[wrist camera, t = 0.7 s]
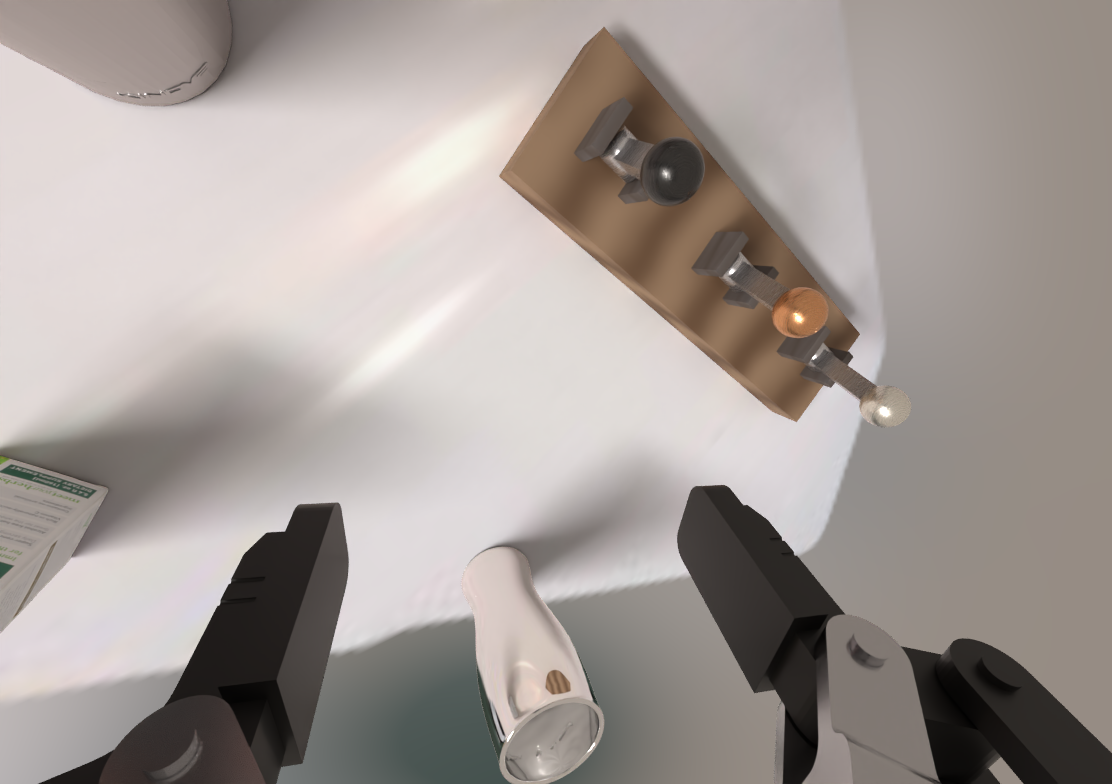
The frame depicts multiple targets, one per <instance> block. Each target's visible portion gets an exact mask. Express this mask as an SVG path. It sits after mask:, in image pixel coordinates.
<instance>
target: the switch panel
mask: <svg viewBox="0 0 1112 784" xmlns="http://www.w3.org/2000/svg"><path fill="white" fill-rule="evenodd" d="M622 125H625V126H626V128H627V129H628V130H629V131H630V132H631V133H632V134H633V135H634V136H635V137H636V139H637V140H639V141H643V142H646V143H650V144H654V145H655V144H656V143H658V142H659V141H661V140H663V139H666V138H669V137H682V138H686V139H688V140H690V141H692V142H693V143H694V144H695V145H696V146H697V147H698V148H699V149H700V151H701V153H702V155H703V158H704V163H705V172H704V177H703V181H702V183H701V186H700V187H699V189H698V191H697V192H696V193H695V194H694V195H693V196H692V197H691V198H690V199H689V200H688V201H686V202H684V203H682V204H680V205H677V206H661V205H658V204H656V203H654V202H653V201H652V200H650V199H649V198H648V197H647V195H646V194H645V192H644V191H643V188H642V186H641V181H640V180H639V179H637V178H636V179H634V180H633V181H632V182H630V183H625V182H624V181H623V180H622V179H621V178H620V177H619V176H618V175H617V174H616V173H615V172H614V171H613V170H612V169H611V168H610V167H609V166H608V165H607V164H606V163H605V162H604V161H603V160H602V159H601V158H600V157H599V156H600V155H602V154H603V152H604V151H605V149H606V148H607V146H608V145H609V143H610V142H611V140H612V139H613V137H614V136H615V134H616V133H617V131H618V130H619V128H620V127H621V126H622ZM499 177H500V178H502V179H503V180H504V181H505V182H506V183H507V184H509V185H510V186H511V187H512V188H513V189H514V190H516V191H517V192H518V193H519V194H520V195H521V196H522V197H524V198H525V199H526V200H527V201H528V202H529V203H531V204H532V205H533V206H534V207H535V208H536V209H538V210H539V211H540V212H541V213H542V214H543V215H545V216H546V217H547V218H548V219H549V220H550V221H552V222H553V223H554V224H555V225H556V226H557V227H559V228H560V229H561V230H562V231H563V232H564V233H565V234H567V235H568V236H569V237H570V238H571V239H572V240H574V241H575V242H576V243H577V244H578V245H579V246H581V247H582V248H583V249H584V250H585V251H586V252H588V253H589V254H590V255H591V256H592V257H593V258H595V259H596V260H597V261H598V262H599V263H600V264H601V265H603V266H604V267H605V268H606V269H607V270H608V271H610V272H611V273H612V274H613V275H614V276H615V277H617V278H618V279H619V280H620V281H621V282H622V283H624V284H625V285H626V286H627V287H628V288H629V289H631V290H632V291H633V292H634V293H635V294H636V295H638V296H639V297H640V298H641V299H642V300H643V301H644V302H646V303H647V304H648V305H649V306H650V307H651V308H653V309H654V310H655V311H656V312H657V313H658V314H660V315H661V316H662V317H663V318H664V319H665V320H667V321H668V322H669V323H670V324H671V325H672V326H674V327H675V328H676V329H677V330H678V331H679V332H681V333H682V334H683V335H684V336H685V337H686V338H687V339H689V340H690V341H691V342H692V343H693V344H694V345H696V346H697V347H698V348H699V349H700V350H701V351H703V352H704V353H705V354H706V355H707V356H708V357H710V358H711V359H712V360H713V361H714V362H715V363H717V364H718V365H719V366H720V367H721V368H722V369H723V370H725V371H726V372H727V373H728V374H729V375H730V376H732V377H733V378H734V379H735V380H736V381H737V382H739V383H740V384H741V385H742V386H743V387H744V388H746V389H747V390H748V391H749V392H750V393H751V394H753V395H754V396H755V397H756V398H757V399H758V400H760V401H761V402H762V403H763V404H764V405H765V406H766V407H768V408H769V409H770V410H771V411H772V412H775V413H777V414H779V415H782V416H784V417H786V418H788V419H791V420H793V421H795V422H797V421H798V419H799V418H800V417H801V415H802V414H803V413H804V411H805V410H806V408H807V407H808V406H809V404H810V403H811V401H812V400H813V399H814V397H815V396H816V395H817V393H818V392H819V390H820V389H821V388H822V386H823V385H825V386H828V387H832V386H833V384H834V383H835V382H834V381H833V380H832V379H830V378H829V377H828V376H826V375H825V374H824V373H823V372H813V371H811V370H810V369H809V368H808V367H807V366H806V365H805V364H804V363H806V364H808V363H809V362H810V360H811V359H812V358H813V356H814V355H815V353H816V352H817V351H818V349H819V348H820V347H821V345H822V344H823V343H824V344H825V345H826V346H827V347H828V348H829V349H830V350H831V352H832V353H833V354H834V356H835V357H836V358H838V359H839V360H841V361H842V362H843V363H845V364H846V365H848V364H849V362H850V361H851V359H852V358H853V356H852V355H851V354H850V352H848V350H849V349H850V347H851V346H852V345H853V343H854V342H855V340H856V339H857V338H858V336H859V335H860V334H859V332H858V331H857V330H856V329H855V328H854V326H853V325H852V324H851V323H850V322H849V320H848V319H847V318H846V317H845V316H844V314H843V313H842V312H841V311H840V310H839V308H838V307H837V306H836V305H835V304H834V302H833V301H832V300H831V299H830V298H829V296H828V295H827V294H826V293H825V292H824V290H823V289H822V288H821V287H820V286H819V284H818V283H817V282H816V281H815V280H814V278H813V277H812V276H811V275H810V274H809V272H808V271H807V270H806V269H805V268H804V266H803V265H802V264H801V263H800V262H799V260H798V259H797V258H796V257H795V256H794V254H793V253H792V252H791V251H790V249H789V248H788V247H787V246H786V245H785V243H784V242H783V241H782V240H781V239H780V237H779V236H778V235H777V234H776V233H775V231H774V230H773V229H772V228H771V227H770V225H769V224H768V223H767V222H766V221H765V219H764V218H763V217H762V216H761V215H760V213H759V212H758V211H757V210H756V209H755V207H754V206H753V205H752V204H751V203H750V201H749V200H748V199H747V198H746V197H745V195H744V194H743V193H742V192H741V191H740V189H739V188H738V187H737V186H736V185H735V183H734V182H733V181H732V180H731V179H730V177H729V176H728V175H727V174H726V173H725V171H724V170H723V169H722V168H721V167H720V165H719V164H718V163H717V162H716V161H715V159H714V158H713V157H712V156H711V155H710V153H709V152H708V151H707V150H706V149H705V147H704V146H703V145H702V144H701V143H700V141H699V140H698V139H697V138H696V137H695V135H694V134H693V133H692V132H691V131H690V129H689V128H688V127H687V126H686V125H685V123H684V122H683V121H682V120H681V119H680V117H679V116H678V115H677V114H676V113H675V111H674V110H673V109H672V108H671V107H670V105H669V104H668V103H667V102H666V101H665V99H664V98H663V97H662V96H661V95H660V93H659V92H658V91H657V90H656V89H655V87H654V86H653V85H652V84H651V83H650V81H649V80H648V79H647V78H646V77H645V75H644V74H643V73H642V72H641V71H640V69H639V68H638V67H637V66H636V65H635V63H634V62H633V61H632V60H631V59H630V57H629V56H628V55H627V54H626V53H625V51H624V50H623V49H622V48H621V47H620V45H619V44H618V43H617V42H616V41H615V39H614V38H613V37H612V36H611V35H610V33H609V32H608V31H607V30H606V29H605V27H604V28H602V29H601V30H600V31H599V32H598V33H597V34H596V35H595V36H594V37H593V38H592V39H591V40H590V41H589V42H588V43H587V44H586V45H585V46H584V47H583V48H582V50H581V51H580V53H579V54H578V56H577V57H576V59H575V61H574V62H573V64H572V65H571V67H570V68H569V70H568V71H567V73H566V74H565V76H564V77H563V79H562V81H561V82H560V84H559V85H558V87H557V88H556V90H555V91H554V93H553V94H552V96H551V97H550V99H549V100H548V102H547V104H546V105H545V107H544V108H543V110H542V111H541V113H540V114H539V116H538V117H537V119H536V120H535V122H534V124H533V125H532V127H531V128H530V130H529V131H528V133H527V134H526V136H525V137H524V139H523V140H522V142H521V143H520V145H519V147H518V148H517V150H516V151H515V153H514V154H513V156H512V157H511V159H510V160H509V162H508V163H507V165H506V167H505V168H504V170H503V171H502V173H501V174H500V176H499ZM740 252H741V253H742V254H743V255H744V256H745V258H746V259H747V260H748V261H749V262H750V263H751V264H752V265H753V266H754V267H755V269H757V270H759V271H760V272H762V273H764V274H765V275H767V276H769V277H770V278H772V279H774V280H775V281H777V282H779V283H780V284H782V285H784V286H785V287H787V288H789V289H790V290H791V289H794V288H798V287H807V288H811V289H814V290H816V291H818V292H819V293H821V294H822V295H823V296H824V298H825V299H826V301H827V304H828V308H829V314H828V318H827V321H826V323H825V324H824V326H823V327H822V328H821V329H820V330H819V331H818V332H816V333H815V334H813V335H811V336H808V337H804V338H792V337H788V336H785V335H784V334H782V333H781V332H779V331H778V330H777V328H776V327H775V326H774V323H773V321H772V311H771V310H770V309H768V308H767V307H766V306H764V305H763V304H761V303H760V302H759V301H757V300H756V299H754V298H753V297H752V296H750V295H749V294H747V293H746V292H745V291H742V292H733V291H732V290H731V289H730V288H729V287H728V286H727V285H726V284H725V283H724V282H723V281H722V280H721V279H720V278H719V277H723V276H724V274H725V273H726V271H727V270H728V269H729V267H730V266H731V264H732V263H733V261H734V260H735V258H736V257H737V256H738V254H739V253H740Z"/></svg>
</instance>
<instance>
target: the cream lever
mask: <svg viewBox="0 0 1112 784" xmlns="http://www.w3.org/2000/svg"><path fill="white" fill-rule="evenodd" d="M804 364H805V365H806V366H807V367H808V368H809V369H810V370H811V371H813V372H823V373H824V374H825V375H826V376H828V377H829V378H830V379H832V380H833V381H834V382H835V383H837V384H838V385H839V386H841V387H842V388H843V389H844V390H846V391H847V392H848V393H849V394H851V395H852V396H853V397H855V398H856V399H857V400H858V401H860V404H859V408H860V412H861V414H862V416H863V417H864V419H865V420H866V421H868V422H869V423H871V424H873V425H875V426H878V427H893V426H896V425H899V424H901V423H902V422H904V421H905V419H907V417H908V416H909V414H910V410H911V403H910V400H909V398H908V397H907V395H906V394H905V393H904V392H903V391H901V390H900V389H898V388H895V387H892V386H876V385H874V384H873V383H871V382H870V381H869V380H867V379H866V378H864V377H863V376H862V375H860V374H859V373H857V372H856V371H855V370H853V369H852V368H850V367H849V366H848V365H846V364H845V363H843V362H842V361H841V360H839V359H838V358H836V357H835V356H834V354H833V353H832V352H831V350H830V349H829V348H828V347H827V346H826V345H825V344H824V343H823V344H822V345H821V347H820V348H819V349H818V351H817V352H816V353H815V355H814V356H813V358H812V359H811V360H810V362H809V363H808V364H806V363H804Z"/></svg>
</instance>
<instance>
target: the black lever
mask: <svg viewBox="0 0 1112 784" xmlns="http://www.w3.org/2000/svg"><path fill="white" fill-rule="evenodd" d="M599 157H600V158H601V159H602V160H603V161H604V162H605V163H606V164H607V165H608V166H609V167H610V168H611V169H612V170H613V171H614V172H615V173H616V174H617V175H618V176H619V177H620V178H621V179H622V180H623V181H624V182H625V183H630V182H632V181H633V180H634V179H636V178H637V179H639V180H640V181H641V186H642V188H643V191H644V192H645V194H646V195H647V197H648V198H649V199H650V200H652V201H653V202H654V203H656V204H658V205H661V206H677V205H680V204H682V203H684V202H686V201H688V200H689V199H690V198H691V197H692V196H693V195H694V194H695V193H696V192H697V191H698V189H699V187H700V186H701V183H702V181H703V177H704V172H705V163H704V158H703V155H702V153H701V151H700V149H699V148H698V147H697V146H696V145H695V144H694V143H693V142H692V141H690V140H688V139H686V138H682V137H669V138H666V139H663V140H661V141H659V142H658V143H656V144H655V145H654V144H650V143H646V142H643V141H639V140H637V139H636V137H635V136H634V135H633V134H632V133H631V132H630V131H629V130H628V129H627V128H626V126H625V125H622V126H621V127H620V128H619V130H618V131H617V133H616V134H615V136H614V137H613V139H612V140H611V142H610V143H609V145H608V146H607V148H606V149H605V151H604V152H603V154H602V155H600V156H599Z"/></svg>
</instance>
